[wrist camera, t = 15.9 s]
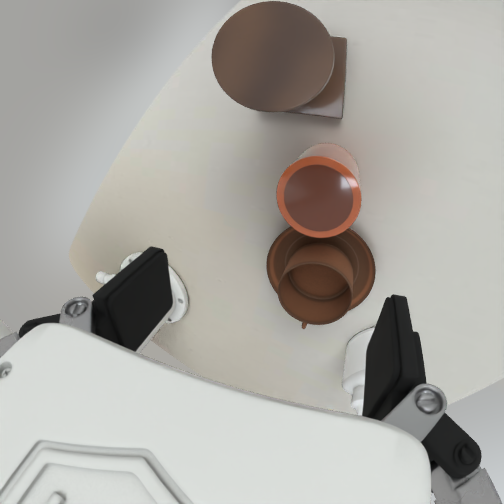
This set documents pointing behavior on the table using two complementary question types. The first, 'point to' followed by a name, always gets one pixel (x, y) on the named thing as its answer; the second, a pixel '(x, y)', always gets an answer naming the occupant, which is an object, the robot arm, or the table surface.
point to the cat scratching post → (281, 61)
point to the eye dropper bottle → (356, 368)
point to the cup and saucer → (320, 274)
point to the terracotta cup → (320, 191)
